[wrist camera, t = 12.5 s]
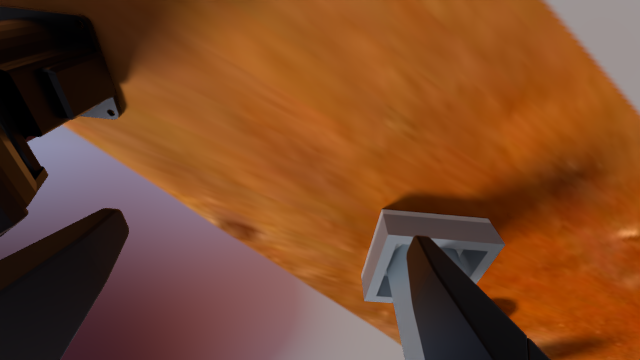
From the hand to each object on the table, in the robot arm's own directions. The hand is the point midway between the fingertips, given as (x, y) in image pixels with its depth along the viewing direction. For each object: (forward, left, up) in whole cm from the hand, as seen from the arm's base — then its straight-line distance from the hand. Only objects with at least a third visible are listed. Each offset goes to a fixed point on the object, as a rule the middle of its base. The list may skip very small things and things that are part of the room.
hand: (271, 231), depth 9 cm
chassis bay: (+13, -15, -13) cm, 24 cm away
